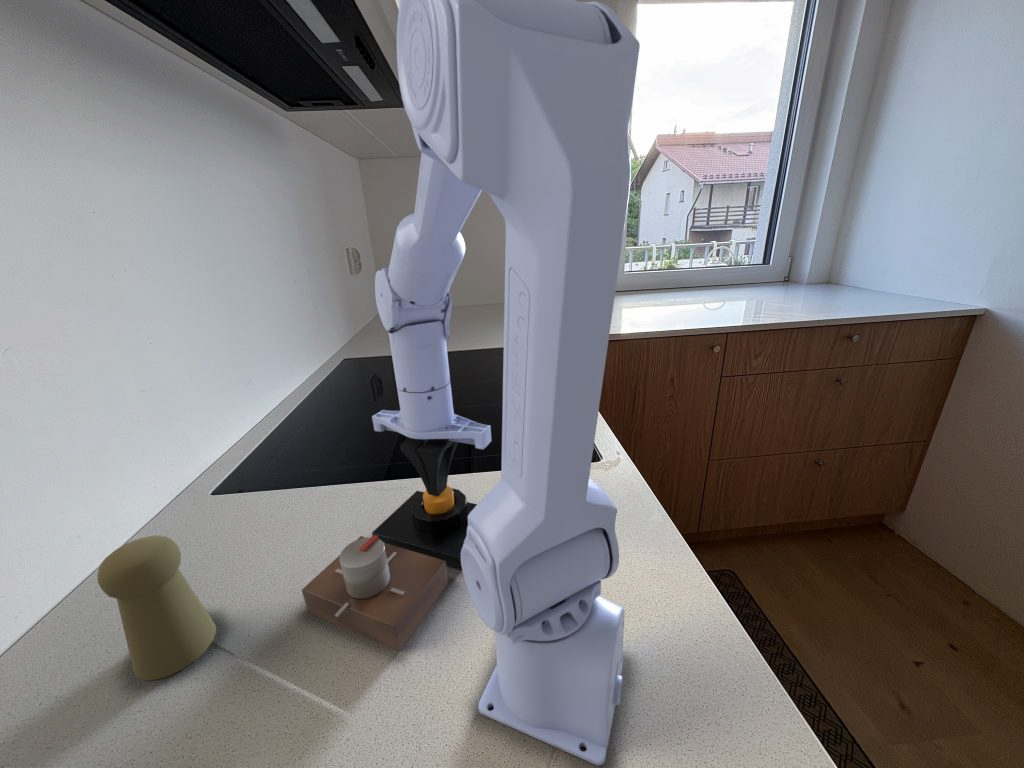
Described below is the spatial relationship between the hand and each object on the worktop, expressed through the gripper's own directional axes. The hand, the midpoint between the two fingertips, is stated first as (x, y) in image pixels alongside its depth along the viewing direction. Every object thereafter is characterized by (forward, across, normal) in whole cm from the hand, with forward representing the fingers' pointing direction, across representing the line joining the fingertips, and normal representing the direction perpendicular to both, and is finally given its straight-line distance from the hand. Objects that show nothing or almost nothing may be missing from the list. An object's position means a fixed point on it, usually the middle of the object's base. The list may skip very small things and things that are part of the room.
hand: (437, 490), depth 50 cm
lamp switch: (+5, 0, +1) cm, 5 cm away
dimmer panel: (+5, 0, +12) cm, 13 cm away
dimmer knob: (+2, 0, +13) cm, 13 cm away
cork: (+5, +14, +22) cm, 27 cm away
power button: (+2, 0, 0) cm, 2 cm away
